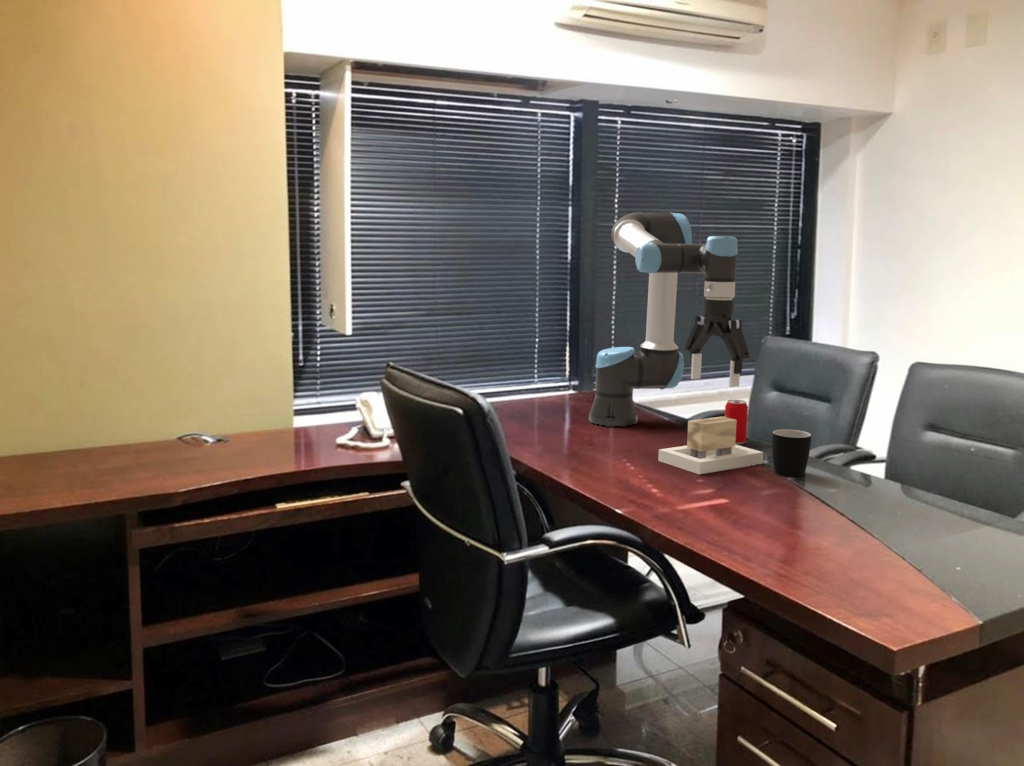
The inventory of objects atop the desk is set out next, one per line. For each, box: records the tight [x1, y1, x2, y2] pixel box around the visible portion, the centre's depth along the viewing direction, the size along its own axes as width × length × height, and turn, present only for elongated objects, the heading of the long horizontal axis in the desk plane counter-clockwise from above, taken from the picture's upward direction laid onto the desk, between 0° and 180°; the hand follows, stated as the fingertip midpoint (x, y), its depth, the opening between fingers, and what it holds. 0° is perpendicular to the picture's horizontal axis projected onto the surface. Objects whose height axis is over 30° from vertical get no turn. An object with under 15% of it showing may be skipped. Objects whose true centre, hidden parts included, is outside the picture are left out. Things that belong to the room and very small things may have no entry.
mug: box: [771, 428, 812, 478], centre depth 210 cm, size 12×9×10 cm
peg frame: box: [657, 445, 764, 475], centre depth 219 cm, size 15×22×4 cm
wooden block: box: [686, 416, 737, 452], centre depth 218 cm, size 5×12×7 cm, turn 121°
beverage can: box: [724, 399, 749, 446], centre depth 240 cm, size 6×6×12 cm
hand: (714, 382), depth 216 cm, fingers open, 13 cm apart
